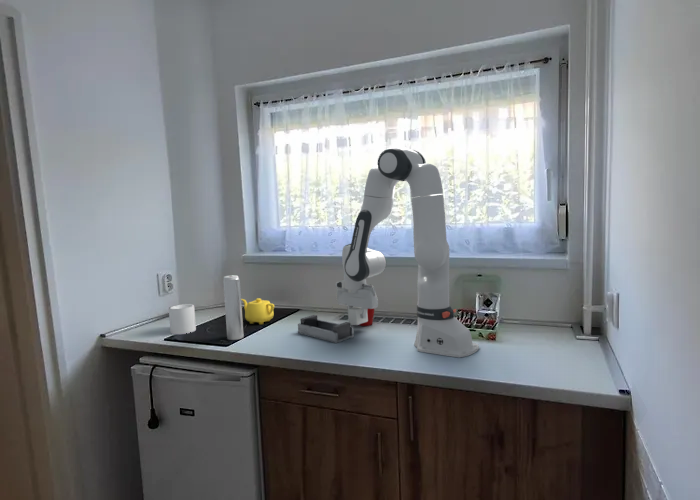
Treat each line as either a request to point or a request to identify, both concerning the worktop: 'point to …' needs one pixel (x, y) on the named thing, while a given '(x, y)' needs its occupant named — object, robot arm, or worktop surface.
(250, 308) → the teapot
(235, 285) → the silver cylinder
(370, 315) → the plastic cup
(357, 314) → the block
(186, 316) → the mug
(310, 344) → the worktop surface
